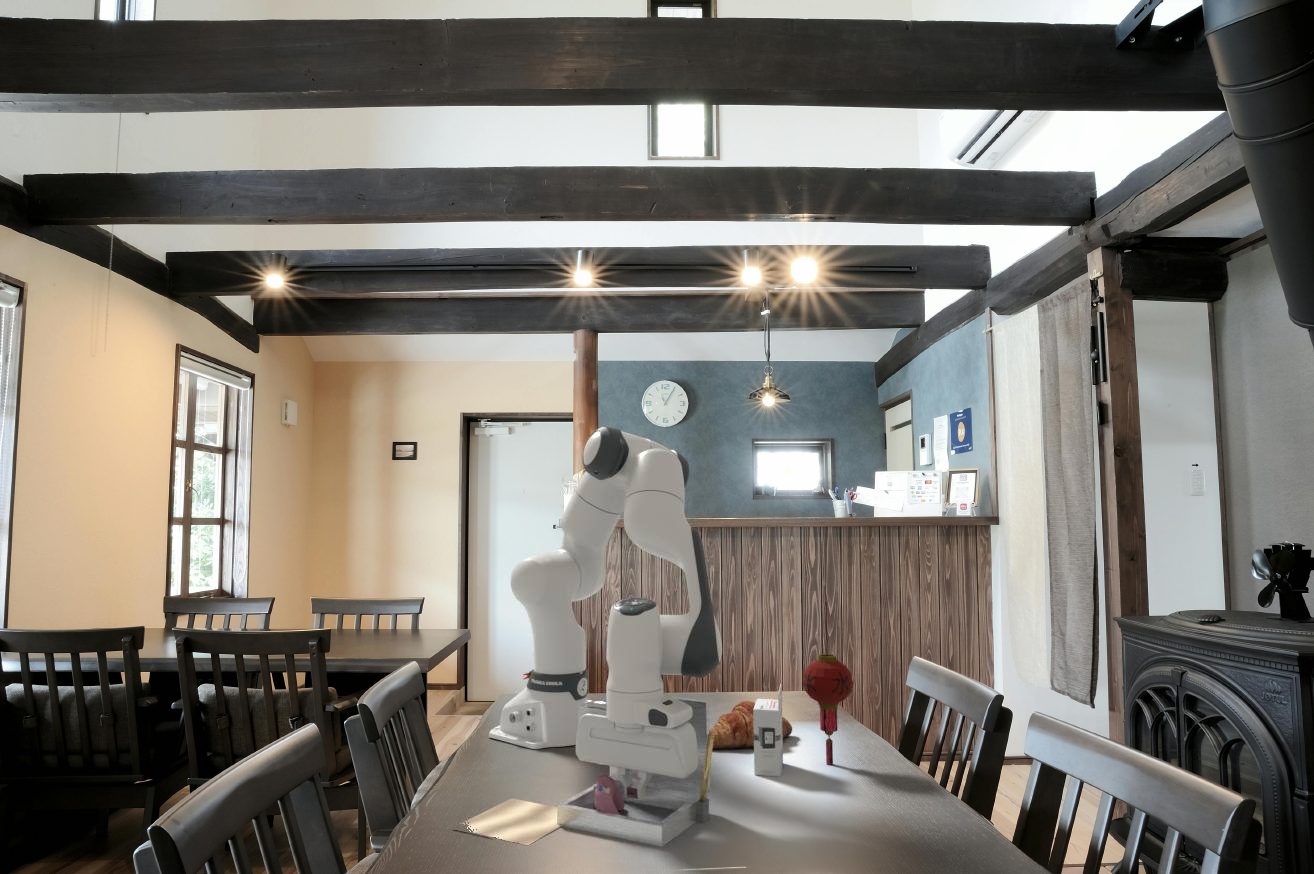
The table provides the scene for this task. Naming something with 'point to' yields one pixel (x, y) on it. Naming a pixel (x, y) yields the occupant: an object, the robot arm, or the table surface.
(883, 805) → the table surface
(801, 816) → the table surface
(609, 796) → the pink rounded figure
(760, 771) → the ink box
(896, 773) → the table surface
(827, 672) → the lantern
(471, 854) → the table surface
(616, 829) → the case
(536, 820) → the pad
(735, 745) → the pastry
